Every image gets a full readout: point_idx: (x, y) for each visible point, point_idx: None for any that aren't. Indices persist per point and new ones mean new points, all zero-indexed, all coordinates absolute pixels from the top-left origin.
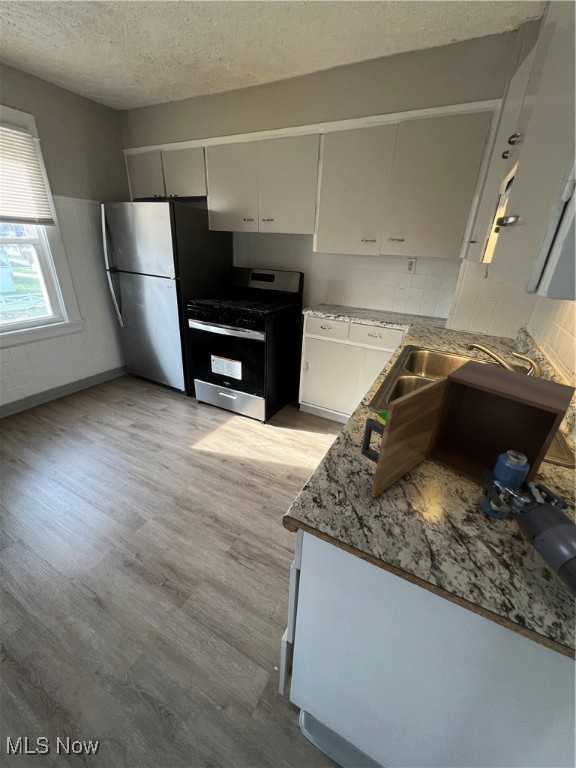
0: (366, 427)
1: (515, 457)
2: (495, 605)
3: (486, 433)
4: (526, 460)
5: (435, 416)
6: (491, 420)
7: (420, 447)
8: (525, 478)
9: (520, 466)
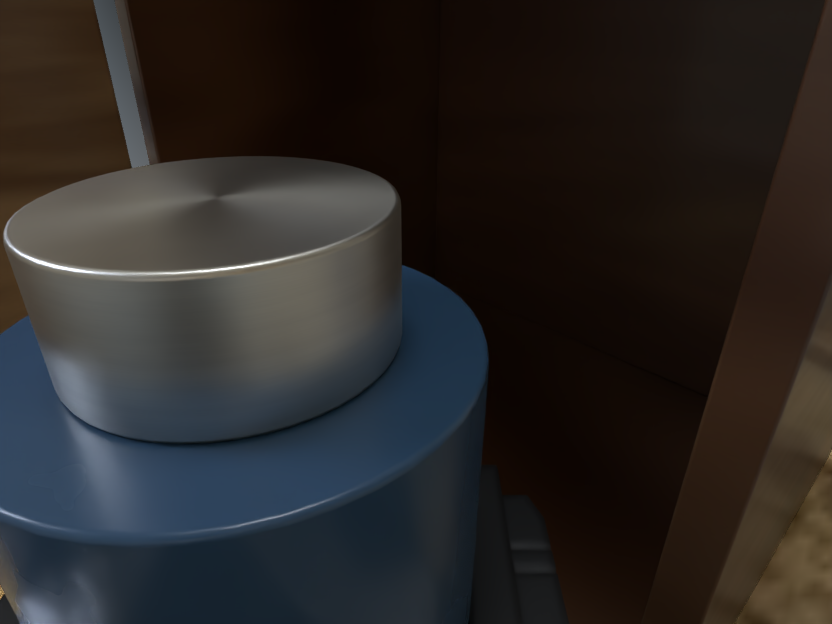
0: None
1: (104, 222)
2: None
3: (561, 246)
4: (294, 266)
5: (78, 81)
6: (572, 159)
7: (19, 314)
8: (560, 598)
9: (176, 429)
